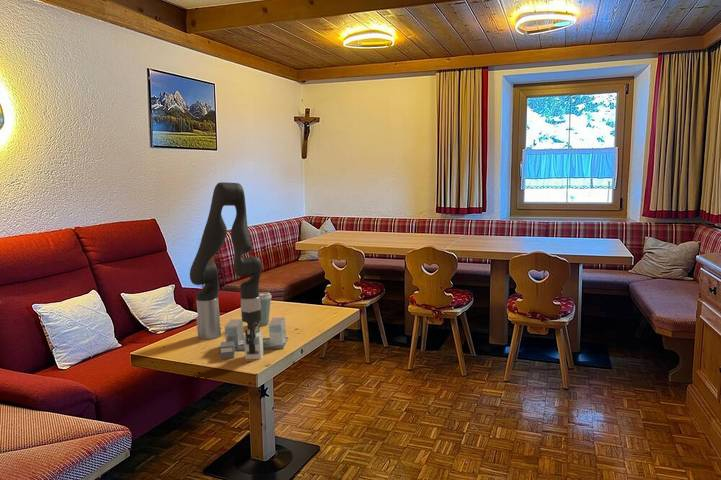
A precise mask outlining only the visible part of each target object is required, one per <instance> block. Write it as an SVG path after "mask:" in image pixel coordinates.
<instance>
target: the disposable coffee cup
mask: <svg viewBox="0 0 721 480" xmlns="http://www.w3.org/2000/svg"><path fill="white" fill-rule="evenodd" d="M259 297H260V303H261V316H262V319H261V320H260V321H259V327H262V326H263V327H264V326H267V325H268V326H269V323H270V316H271V315H270V314H271V304H272V303H271V301H272V298H273V297H272V294H271V293H270V292H259Z"/></svg>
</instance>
